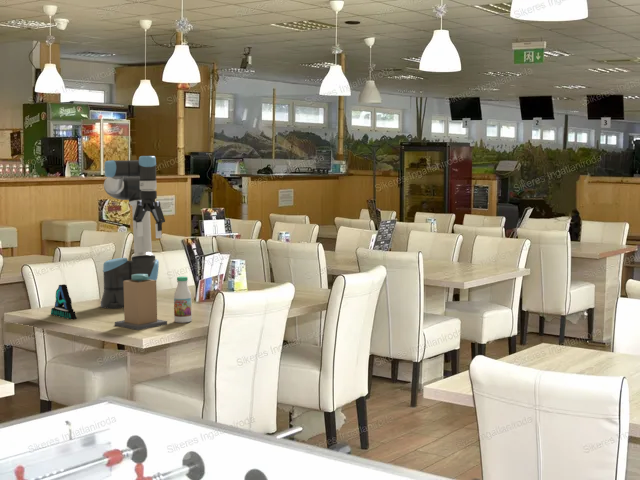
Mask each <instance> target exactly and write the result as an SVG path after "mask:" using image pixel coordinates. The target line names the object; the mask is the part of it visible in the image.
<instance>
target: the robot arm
mask: <svg viewBox="0 0 640 480" xmlns="http://www.w3.org/2000/svg"><path fill="white" fill-rule="evenodd" d="M103 163H104V166H103V167H104V176H105V177H106V178H105V179H104V182H103V189H104V191H105V193H106V194H107V195H108V196H110V197H112V198H113V199H115V200H120V201H128V204H129V205H130V206H131V208H132V209H131V210H132V228H133V229H132V232H133V252H134V253H133V255H131V260H128V258H127V257H118V258H117V257H116V258H113V259H109V260H106V261H104V262H103V266H102V267H103V268H102V269H103V270H102V272H103V293H102V295H101V300H100V308H102V309H124V283H123V281H126V280H132V275H133V274H148V277H149V279H150V280H156V282H157V280H158V276H159V275H158V274H159V264H160V262H159V259H157V258H156V255H155V254H154V253H153V248H152V247H153V246H152V230H151V229H152V227H151V224H152V223H151V215H152V217H153V219H154V220H155V226H154V228H155V239H162V230H163V223H165V222H166V219H165V216H164V213H163V210H162V207H161V202H160V201H159V200H158V201H157V200H156V199H158V197H157V196H158V192H157V188H158V186H157V185H158V184H157V158H156V156H155V155H141V156H139V157H138V159H135V160H134V159H133V160H121V159H120V160H115V159H112V160H105V161H104V162H103Z"/></svg>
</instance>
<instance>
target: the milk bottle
mask: <svg viewBox="0 0 640 480" xmlns="http://www.w3.org/2000/svg"><path fill="white" fill-rule="evenodd" d="M188 278H189V277H188V276H178V277H176V282H177V286H176V288H175V291H174V295H173V305H174V306H173V310H174V311H173V313H174V314H173V315H174V316H173V319H174V322H175V323H177V324H178V323H179V324H181V323H183V324H184V323H191V322H192V321H193V319H192V318H193V311H192V310H193V309H192V308H193V306H192V305H193V304H192V293H191V290H190V288H189V286H188V281H189V280H188Z"/></svg>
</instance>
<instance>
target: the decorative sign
mask: <svg viewBox="0 0 640 480" xmlns="http://www.w3.org/2000/svg"><path fill="white" fill-rule="evenodd" d="M50 315H52V316H54V315H55V316H54V317H59V316H60V317H59V318H62V317H64V319H67V318H68V320H71V319H73V320H77V315H76V311H75V310H74V308H73V305H72V298H71V296H70V293H69V289H68V287H67V284H58V288H56V291H55V302H54V307H51V309H50Z"/></svg>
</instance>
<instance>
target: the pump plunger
mask: <svg viewBox="0 0 640 480" xmlns="http://www.w3.org/2000/svg"><path fill="white" fill-rule="evenodd" d="M132 280H135V281H138V282H142V280H149V277H148V274H133V275H132Z"/></svg>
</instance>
